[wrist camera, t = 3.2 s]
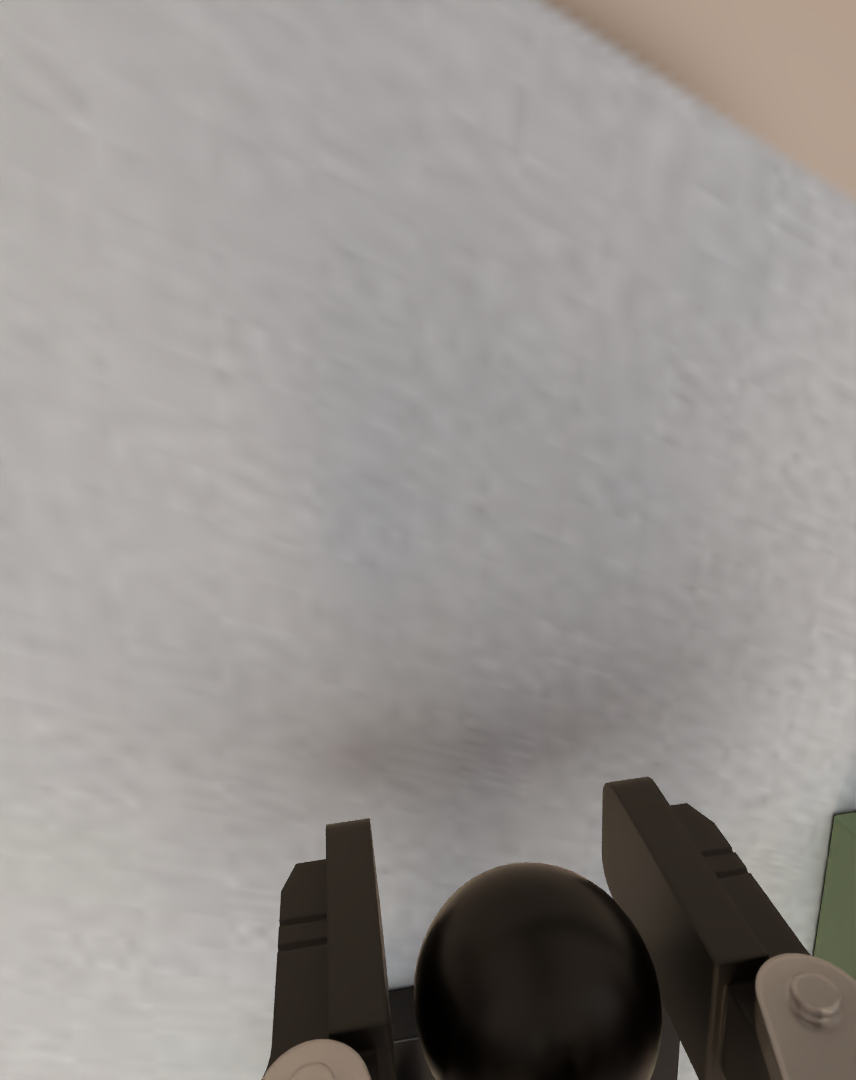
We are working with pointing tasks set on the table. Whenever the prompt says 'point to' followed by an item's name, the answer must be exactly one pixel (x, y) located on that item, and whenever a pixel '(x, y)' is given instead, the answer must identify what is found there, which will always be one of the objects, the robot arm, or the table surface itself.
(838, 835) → the button box
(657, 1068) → the bracket
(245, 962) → the table surface
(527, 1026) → the lever
